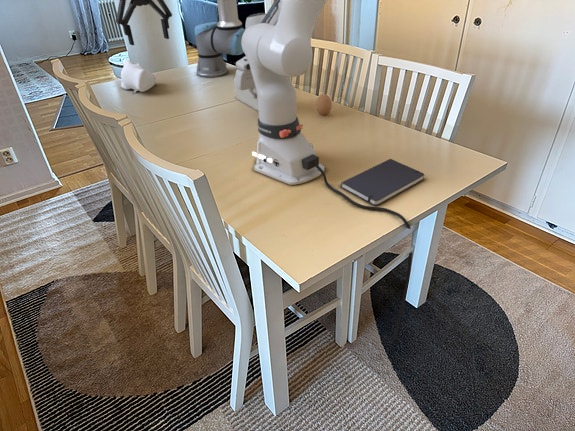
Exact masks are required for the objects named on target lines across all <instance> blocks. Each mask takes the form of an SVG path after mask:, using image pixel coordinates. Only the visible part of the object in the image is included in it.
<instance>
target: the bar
mask: <svg viewBox="0 0 575 431" xmlns="http://www.w3.org/2000/svg"><path fill="white" fill-rule="evenodd" d="M233 82H234V92H235V93H234V94H235V99H237V100H239V101H241V102H242V103H243V104H245V105H247V106H249V107H251V108H253V110H256V111H258V98H255V99H253V98H252V95H251V93H250V91H249V90H248V89H246V90H240V89H238V88H237V87H236V77H234V78H233ZM253 92H254V93H255V94H257V91H256V87H255V88H254V90H253Z"/></svg>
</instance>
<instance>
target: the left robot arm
mask: <svg viewBox="0 0 575 431" xmlns="http://www.w3.org/2000/svg"><path fill="white" fill-rule="evenodd" d="M156 1H157V3H158V4H159V6H160V7H161V8H160V7H159V6H158V5H157V4H156V3H155V2H154V0H130V1H129V3H128V6H127V9H126V3H127V0H119V2H118V6H117V11H116V12H117V13H116V17H115V23H116V24H117V25H121V26H122V30H123V33H124V34H123V35H125V36H127V39H128V44H129V45H130V46H135V41H134V37H133V33H132V28H131V25H130V24H129V22H130V20H131V18H132V15H133V13H134V11H135V10H136V8H137V7H142V6H150V7H151V9H153V10H154V11H155V12H156V13H157V14H158V15H159V16H160V17H161V18H160V23H161V29H162V33H163V38H164V39H166V40H169V39H170V35H169V29H170V22H169V20H170V18H172V17H173V13H172V11H171V10H170V9H169V7H168V5H167V3H166V2H165V1H164V0H156ZM216 3H217V4H216V5H217V11H218V12H217V14H218V22H217V21H213V22H206V23H205V22H204V23H201V24H197V25H196V26H195V27H194V39H195V45H196V50H197V57H198V58H197V59H198V60H197V67H196V74H197V76H199V77H202V78H216V77H221V76H224V75H226V74H228V68H227V65H226V64H227V62H226V61H225V60H224V57H223V55H224V54H225V55H231V56H239V55H242V54H245V53H244V52H243V49H242V45H241V40H242V36H243V33H244V32H245V28H244V27H243V22H242V21H241V20H240V19H239V14H238V4H237V0H216ZM125 9H126V11H125Z"/></svg>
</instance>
